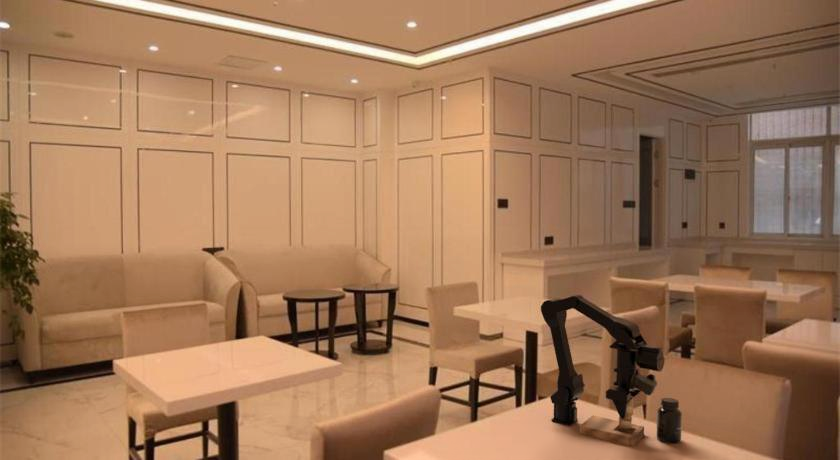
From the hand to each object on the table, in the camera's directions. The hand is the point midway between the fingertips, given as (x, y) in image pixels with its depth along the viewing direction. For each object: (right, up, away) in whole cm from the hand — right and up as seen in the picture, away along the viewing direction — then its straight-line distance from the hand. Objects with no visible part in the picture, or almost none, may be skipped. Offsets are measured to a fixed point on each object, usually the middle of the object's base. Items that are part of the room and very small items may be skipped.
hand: (625, 416), depth 178 cm
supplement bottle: (+13, -7, -1) cm, 15 cm away
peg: (0, -3, 0) cm, 3 cm away
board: (-3, -6, +3) cm, 8 cm away
